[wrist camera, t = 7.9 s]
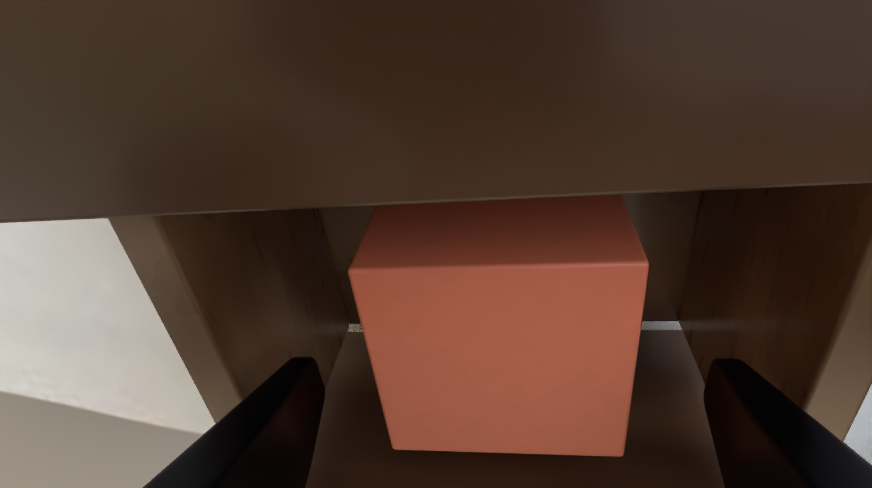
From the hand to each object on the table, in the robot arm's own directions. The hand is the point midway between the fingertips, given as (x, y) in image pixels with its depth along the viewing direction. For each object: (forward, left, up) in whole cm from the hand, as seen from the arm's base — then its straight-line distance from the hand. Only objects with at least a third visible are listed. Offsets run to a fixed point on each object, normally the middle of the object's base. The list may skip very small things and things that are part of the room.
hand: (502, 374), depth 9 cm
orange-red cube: (0, 0, -5) cm, 5 cm away
